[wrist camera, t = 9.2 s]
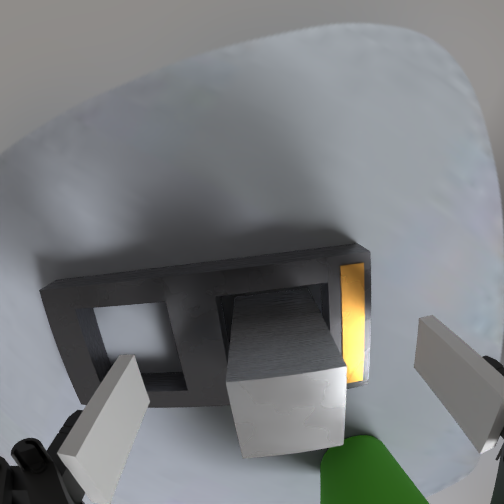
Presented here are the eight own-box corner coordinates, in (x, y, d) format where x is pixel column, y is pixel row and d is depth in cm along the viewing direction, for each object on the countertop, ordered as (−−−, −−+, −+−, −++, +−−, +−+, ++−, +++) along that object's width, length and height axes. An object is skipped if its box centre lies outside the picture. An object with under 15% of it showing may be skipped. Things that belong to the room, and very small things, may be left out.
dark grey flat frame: (92, 387, 19) (80, 405, 17) (56, 280, 18) (38, 290, 15) (358, 367, 19) (368, 385, 17) (357, 243, 17) (370, 252, 15)
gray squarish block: (244, 358, 19) (242, 458, 11) (234, 297, 18) (225, 382, 10) (311, 350, 19) (343, 444, 11) (307, 287, 18) (346, 366, 10)
